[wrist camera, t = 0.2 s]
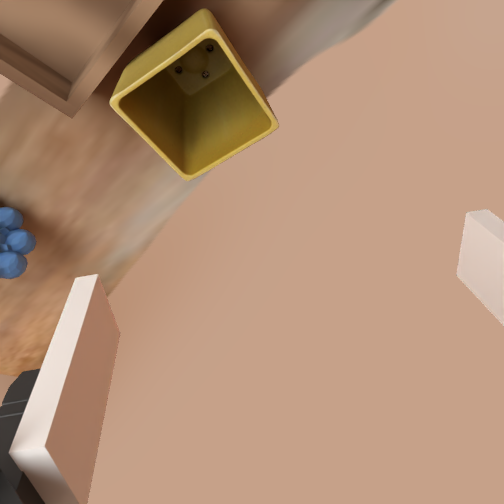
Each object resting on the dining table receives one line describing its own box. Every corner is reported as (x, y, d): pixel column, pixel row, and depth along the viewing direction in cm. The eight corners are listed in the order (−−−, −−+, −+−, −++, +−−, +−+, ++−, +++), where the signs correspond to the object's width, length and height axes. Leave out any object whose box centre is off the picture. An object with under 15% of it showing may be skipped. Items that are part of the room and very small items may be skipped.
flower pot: (183, 123, 41) (187, 185, 35) (115, 45, 35) (105, 103, 29) (263, 71, 38) (282, 127, 32) (204, -24, 32) (213, 24, 26)
